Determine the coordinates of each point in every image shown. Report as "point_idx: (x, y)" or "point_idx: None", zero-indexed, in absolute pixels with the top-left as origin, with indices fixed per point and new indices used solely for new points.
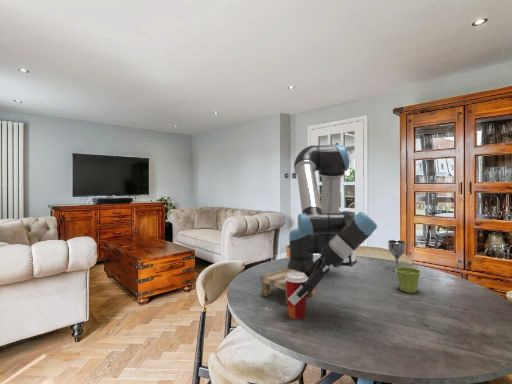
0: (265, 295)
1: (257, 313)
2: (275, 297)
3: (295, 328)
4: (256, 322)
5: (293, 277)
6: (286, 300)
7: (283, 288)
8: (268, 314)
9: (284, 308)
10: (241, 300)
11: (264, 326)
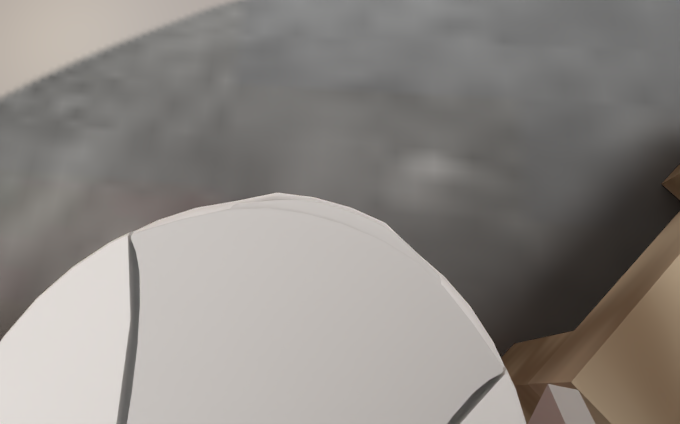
0: (673, 174)
1: (337, 99)
2: None
3: None
4: (187, 84)
5: (33, 362)
6: (526, 345)
7: (607, 298)
8: (315, 176)
9: None
10: (568, 5)
11: (113, 132)
